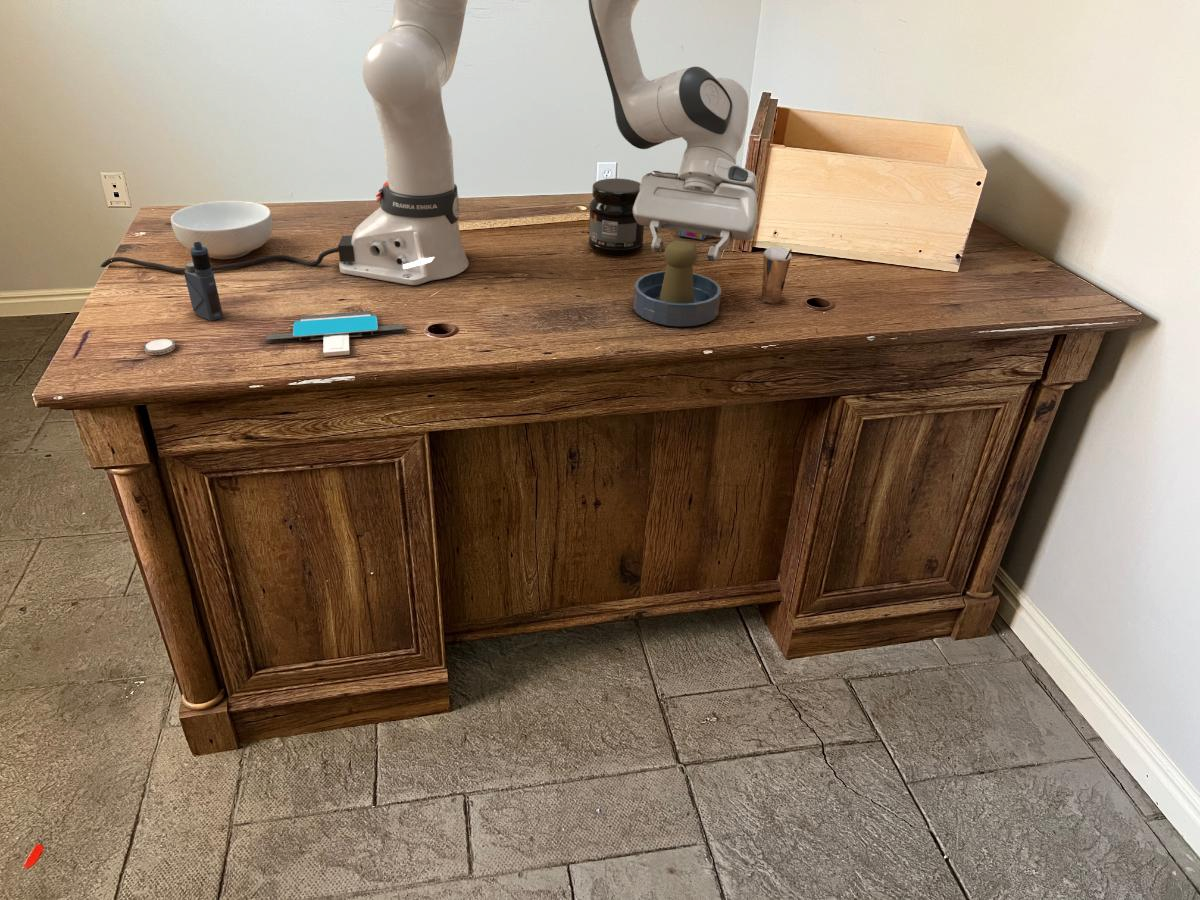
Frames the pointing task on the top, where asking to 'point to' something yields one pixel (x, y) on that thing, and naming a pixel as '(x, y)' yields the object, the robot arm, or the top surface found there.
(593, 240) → the supplement container
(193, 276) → the vaping device
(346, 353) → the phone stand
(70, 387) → the top surface
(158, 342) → the white bottle cap
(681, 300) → the olive peg figure
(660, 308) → the serving bowl
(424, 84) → the robot arm
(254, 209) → the cereal bowl
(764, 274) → the milkshake
